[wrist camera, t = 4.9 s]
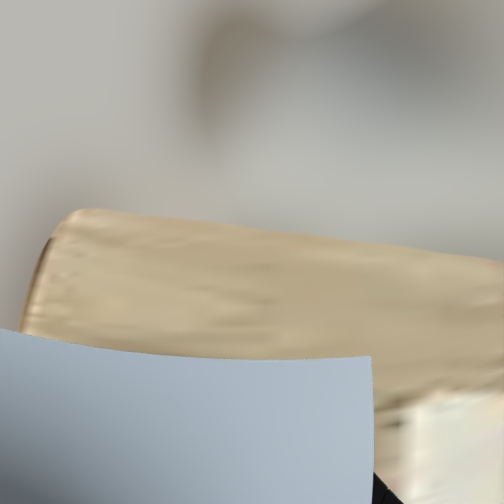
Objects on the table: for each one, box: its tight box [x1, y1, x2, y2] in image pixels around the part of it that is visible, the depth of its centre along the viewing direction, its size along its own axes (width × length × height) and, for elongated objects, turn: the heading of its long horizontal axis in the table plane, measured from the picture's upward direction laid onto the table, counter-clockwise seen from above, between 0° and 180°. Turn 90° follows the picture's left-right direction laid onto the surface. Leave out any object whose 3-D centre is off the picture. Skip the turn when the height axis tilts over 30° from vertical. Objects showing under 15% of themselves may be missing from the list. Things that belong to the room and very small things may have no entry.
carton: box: [0, 328, 374, 504], centre depth 7 cm, size 5×5×12 cm
